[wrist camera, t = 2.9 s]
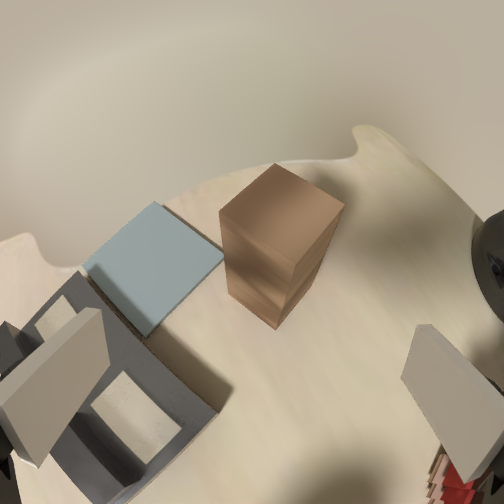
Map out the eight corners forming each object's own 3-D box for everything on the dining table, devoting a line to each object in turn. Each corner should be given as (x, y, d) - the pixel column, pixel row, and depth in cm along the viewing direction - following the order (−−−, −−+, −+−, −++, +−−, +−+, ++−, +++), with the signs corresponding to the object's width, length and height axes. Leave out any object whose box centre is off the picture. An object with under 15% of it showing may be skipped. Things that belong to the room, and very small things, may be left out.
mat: (225, 257, 27) (225, 254, 27) (145, 337, 23) (144, 336, 23) (155, 203, 31) (154, 201, 30) (83, 267, 26) (81, 265, 26)
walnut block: (310, 286, 26) (345, 204, 17) (275, 330, 24) (295, 264, 15) (265, 254, 28) (274, 163, 18) (228, 293, 26) (218, 211, 16)
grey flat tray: (219, 413, 20) (212, 412, 16) (123, 506, 16) (97, 522, 11) (87, 280, 26) (62, 252, 22) (11, 361, 21) (-21, 346, 17)
